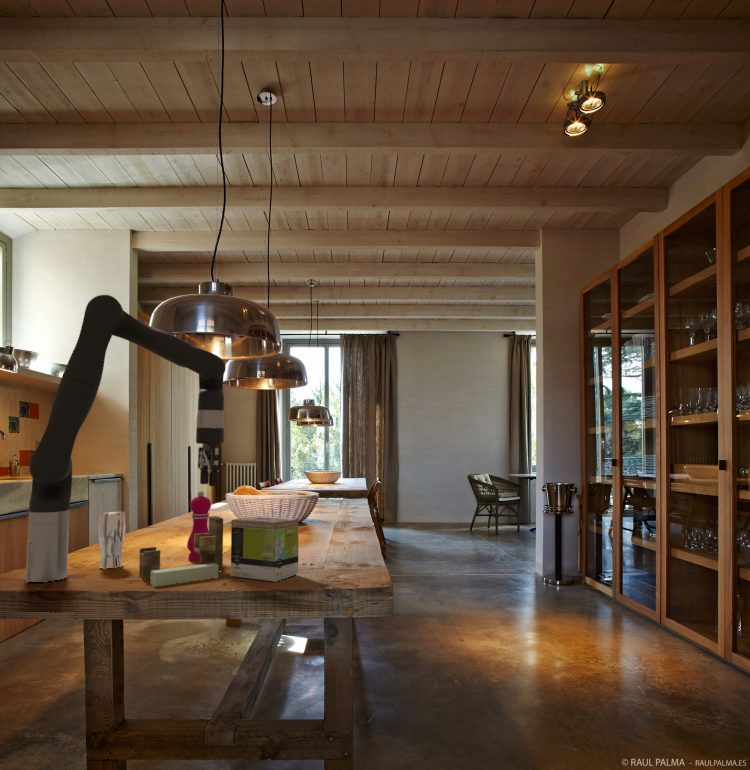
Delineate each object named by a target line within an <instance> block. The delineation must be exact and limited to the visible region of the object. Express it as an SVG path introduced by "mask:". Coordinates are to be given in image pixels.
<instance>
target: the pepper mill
mask: <svg viewBox="0 0 750 770" xmlns="http://www.w3.org/2000/svg"><path fill="white" fill-rule="evenodd" d="M204 495H205V493H204V492H203V491H202V490H201V491H198V493H197V496H196V497H194V498H192V499H191V501H190V503H189V508H190V510H191V512H192V513H191V519H192V523H193V524H192V530H191V533H190V535H189V536H188V539H187V542H186V543H187V544H186V548H187V549H188V550H189V552H190V553H188V561H189V562H193V561H200V555H199V554H198V553H196V552H195V551H194V534H202V533H209V526H208V521H209V516H210V513H209V511H210V510H211V508H212V507H211V506H212V501H211V500H210V499H209V498H208V497H206V496H204Z"/></svg>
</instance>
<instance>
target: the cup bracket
mask: <svg viewBox="0 0 750 770" xmlns="http://www.w3.org/2000/svg"><path fill="white" fill-rule="evenodd" d="M208 531H209V533H202V534H194V551H195V552H196V553H198V554H199V555H200V562H199V565H201V564H209V563H215V564H217V565H219V570H218V573H220V572H219V571H222V572H223V569H224V568H223V563H224V562H223V557H224V555H223V554H224V550H223V548H224V518H222V517H220V516H217V515H211V516H210V515H209V518H208Z"/></svg>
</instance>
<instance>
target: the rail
mask: <svg viewBox="0 0 750 770" xmlns="http://www.w3.org/2000/svg"><path fill="white" fill-rule="evenodd" d="M218 570H219V565H217V564H215V563H209V564H201V565H200V564H195V565H187V566H179V567H172V568H171V567H170V568H164V569H162V568H160V570H153V571H151V575H150V580H149V584H150V585H151V586H152V585H153V586H152V587H154V588H155V587H163V586H170V584H172V585H177V584H176V583H179V584H183V583H182V582H186V583H190V582H189V581H193V582H196V581H195V580H200V581H202V580H201V579H207V580H209V579H208V578H214V579H216V578H215V577H218V578H219V572H218Z"/></svg>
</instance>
